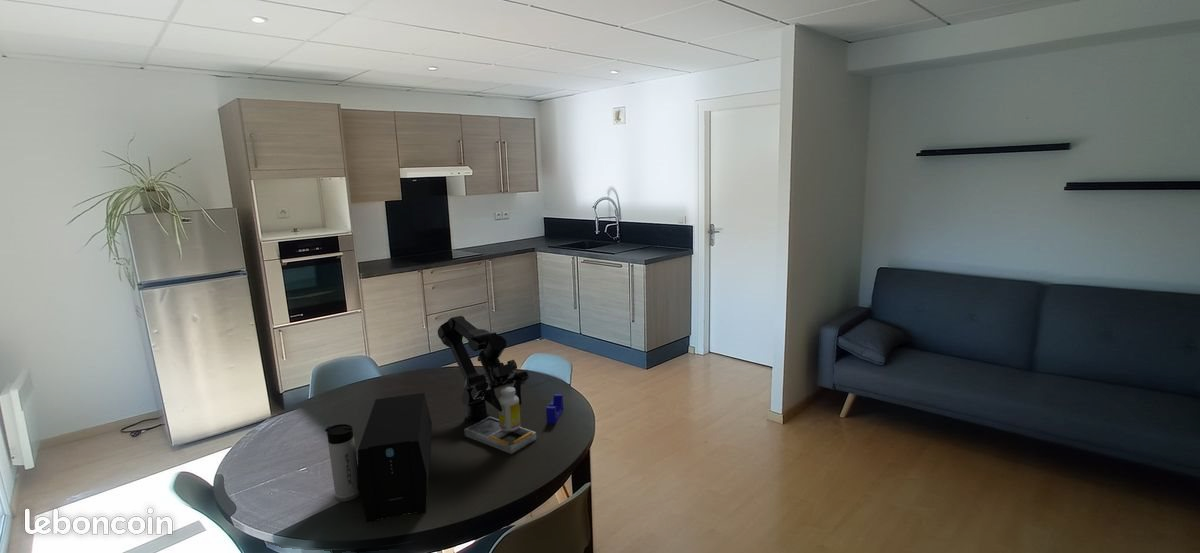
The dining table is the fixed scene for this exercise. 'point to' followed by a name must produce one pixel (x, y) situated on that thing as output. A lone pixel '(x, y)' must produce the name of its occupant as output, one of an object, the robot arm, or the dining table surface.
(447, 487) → the dining table surface
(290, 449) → the dining table surface
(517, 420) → the supplement bottle
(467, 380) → the robot arm
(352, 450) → the travel mug
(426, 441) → the uninterruptible power supply
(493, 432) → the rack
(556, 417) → the cable clip
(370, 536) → the dining table surface
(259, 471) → the dining table surface
